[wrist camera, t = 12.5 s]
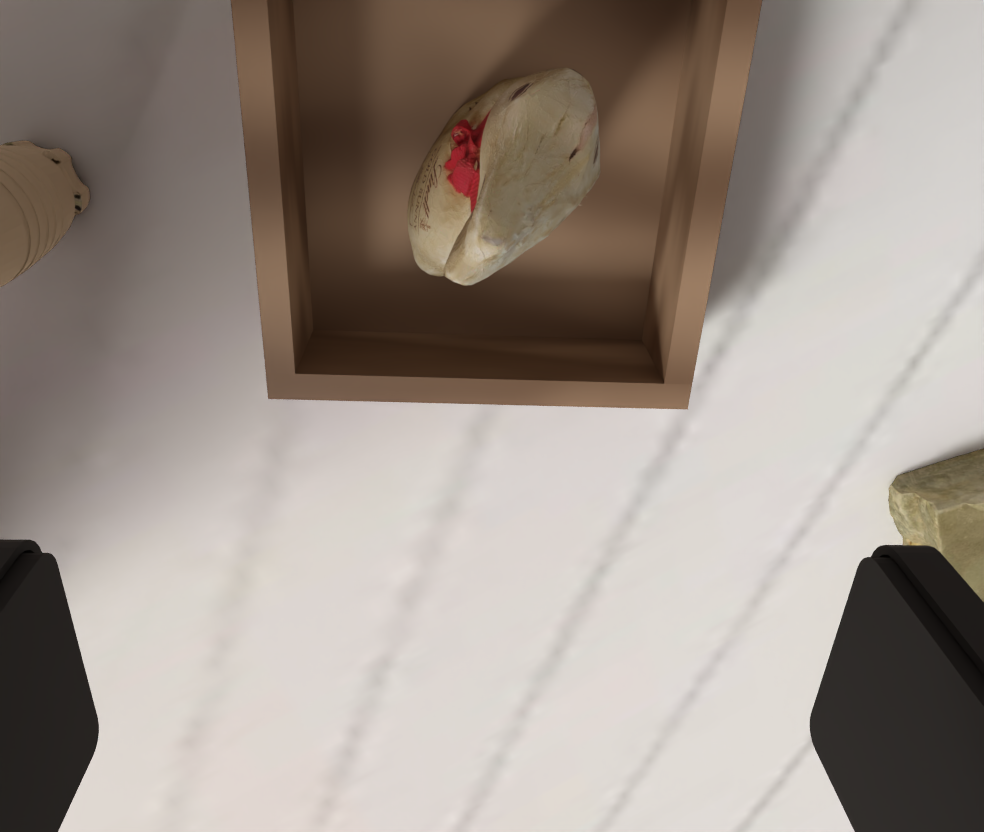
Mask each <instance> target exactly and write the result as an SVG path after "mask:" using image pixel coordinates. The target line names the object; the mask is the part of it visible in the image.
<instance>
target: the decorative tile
mask: <svg viewBox="0 0 984 832" xmlns="http://www.w3.org/2000/svg"><path fill="white" fill-rule="evenodd" d="M888 501H889V508H890V514H891V516H892V517H893V519H894V523H895V525H896V527H897V529H898V531H899V533H900V534H901V535H902V536H903V545H928V546H931V547H934V548H936V549H937V550H938V551H939V552H940V553H941V554H942V555H943V556H944V557H945V558H946V559H947V561H948V562H949V563H950V564H951V565H952V566H953V567H954V569H955V570H956V571H957V572H958V573H959V574H960V576H961V577H962V578H963V579H964V580H965V581H966V582H967V584H968V585H969V586H970V587H971V588H972V589H973V590H974V592H975V593H976V594H977V595H978V596H979V597H980V599H981V600H982V601H983V602H984V449H981V450H977V451H974V452H971V453H968V454H965V455H961V456H957V457H954V458H951V459H948V460H945V461H942V462H938V463H935V464H932V465H929V466H926V467H923V468H920V469H917V470H914V471H910V472H907V473H904V474H901V475H898V476H897V477H896V479H895V481H894V482H893V483H892V485H891V486H890V487H889V500H888Z"/></svg>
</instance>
